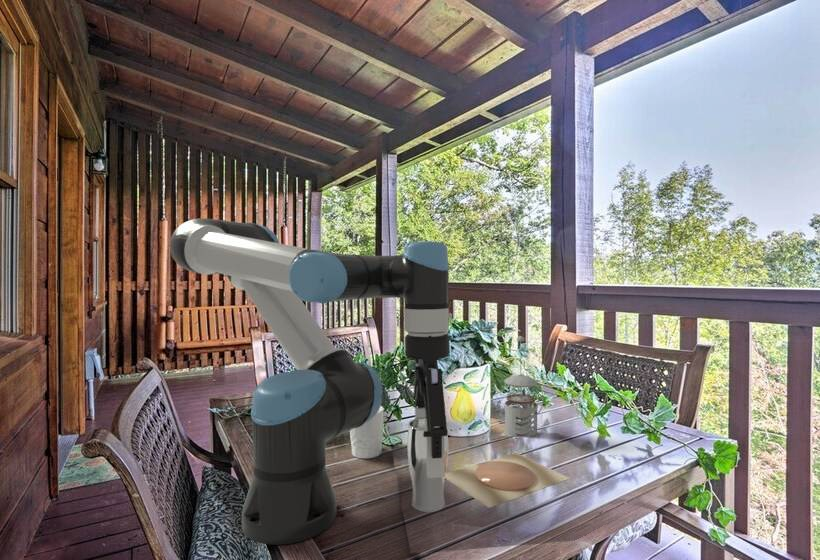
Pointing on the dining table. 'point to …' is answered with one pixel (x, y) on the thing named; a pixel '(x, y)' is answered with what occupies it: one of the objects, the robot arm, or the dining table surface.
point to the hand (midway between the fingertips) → (428, 458)
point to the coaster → (505, 475)
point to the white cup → (368, 437)
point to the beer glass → (424, 469)
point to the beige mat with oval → (494, 497)
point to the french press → (525, 401)
